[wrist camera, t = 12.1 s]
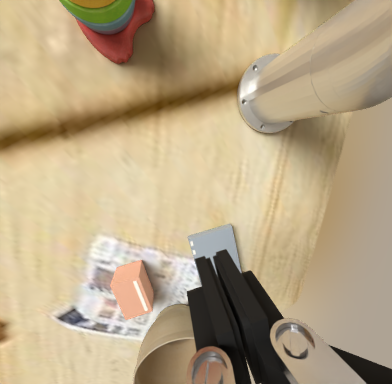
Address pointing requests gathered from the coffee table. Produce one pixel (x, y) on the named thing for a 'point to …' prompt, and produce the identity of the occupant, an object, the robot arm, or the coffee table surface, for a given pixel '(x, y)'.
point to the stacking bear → (111, 23)
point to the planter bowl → (166, 348)
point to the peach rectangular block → (132, 289)
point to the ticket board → (214, 244)
